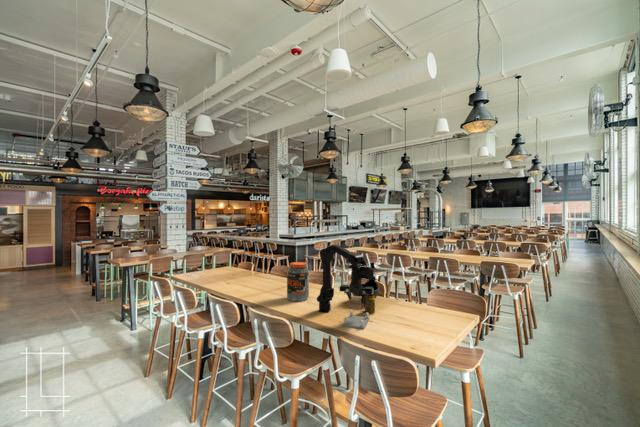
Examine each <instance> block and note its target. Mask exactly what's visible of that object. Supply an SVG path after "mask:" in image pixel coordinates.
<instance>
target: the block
mask: <svg viewBox="0 0 640 427" xmlns="http://www.w3.org/2000/svg"><path fill="white" fill-rule="evenodd" d="M348 300H349V299H348ZM361 302H362V296H353V295H352V298H351V299H350V300H349V301H348V303H349V304H348V308H349V309H350V310H351V309H353V310H360V311H361V309H362V308H363V306H364V304H363V305H361Z"/></svg>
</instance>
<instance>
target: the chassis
mask: <svg viewBox="0 0 640 427" xmlns="http://www.w3.org/2000/svg"><path fill="white" fill-rule="evenodd" d="M353 314H354V310H349V316H347V317H344V318H343V322H342V327H345V326H346V328H352V329H358V330H359V329H360V330H365V328H366V327H367V325H368V323H369V322H370V320H371V318H370V315H369V313H366V314H365V316H361V315H353Z"/></svg>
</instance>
